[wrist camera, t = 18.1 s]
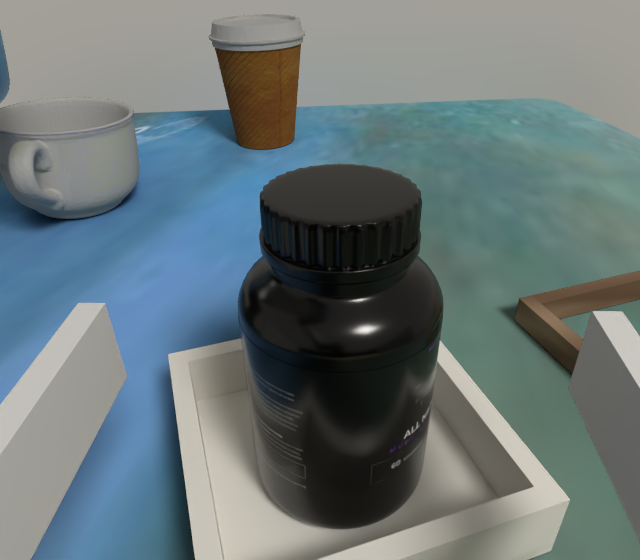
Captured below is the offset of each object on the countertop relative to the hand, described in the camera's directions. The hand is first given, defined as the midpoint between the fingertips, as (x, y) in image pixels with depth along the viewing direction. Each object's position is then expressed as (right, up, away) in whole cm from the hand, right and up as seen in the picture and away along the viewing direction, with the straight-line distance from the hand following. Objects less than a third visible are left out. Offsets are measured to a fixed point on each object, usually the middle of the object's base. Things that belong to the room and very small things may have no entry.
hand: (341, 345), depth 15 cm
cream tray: (0, -6, +8) cm, 10 cm away
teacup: (-21, +7, +30) cm, 37 cm away
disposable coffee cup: (-7, +17, +44) cm, 48 cm away
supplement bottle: (0, -6, +7) cm, 9 cm away
